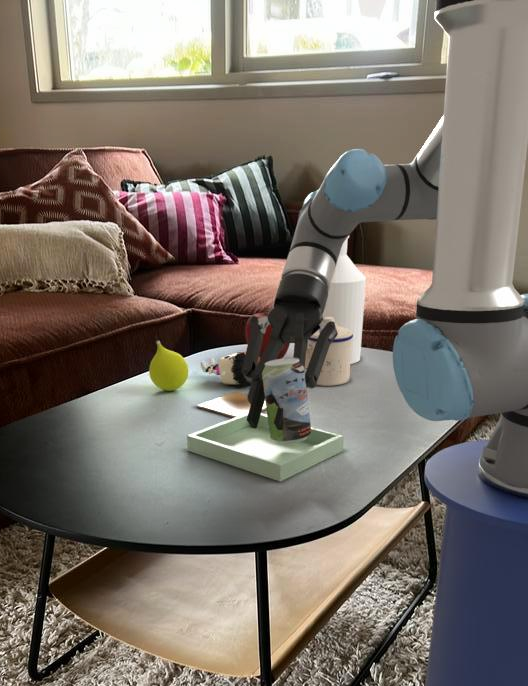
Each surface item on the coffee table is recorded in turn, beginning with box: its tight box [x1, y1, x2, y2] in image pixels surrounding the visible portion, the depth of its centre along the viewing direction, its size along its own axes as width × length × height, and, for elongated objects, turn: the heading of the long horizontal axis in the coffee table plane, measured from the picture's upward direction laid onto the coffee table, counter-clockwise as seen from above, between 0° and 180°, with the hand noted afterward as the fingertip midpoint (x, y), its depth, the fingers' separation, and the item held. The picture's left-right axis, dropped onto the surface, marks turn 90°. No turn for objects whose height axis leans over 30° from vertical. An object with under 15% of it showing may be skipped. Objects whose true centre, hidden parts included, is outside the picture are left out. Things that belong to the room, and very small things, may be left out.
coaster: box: [196, 391, 267, 418], centre depth 131 cm, size 10×10×1 cm
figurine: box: [200, 350, 260, 387], centre depth 143 cm, size 7×6×12 cm
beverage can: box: [262, 357, 312, 444], centre depth 109 cm, size 6×7×12 cm
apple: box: [244, 311, 291, 359], centre depth 155 cm, size 10×10×10 cm
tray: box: [186, 412, 345, 482], centre depth 111 cm, size 18×15×2 cm
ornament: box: [148, 337, 189, 392], centre depth 138 cm, size 7×7×10 cm
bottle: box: [322, 235, 367, 365], centre depth 153 cm, size 12×12×25 cm
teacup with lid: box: [305, 317, 353, 387], centre depth 141 cm, size 12×9×12 cm
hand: (265, 425), depth 108 cm, fingers closed on beverage can, 3 cm apart
